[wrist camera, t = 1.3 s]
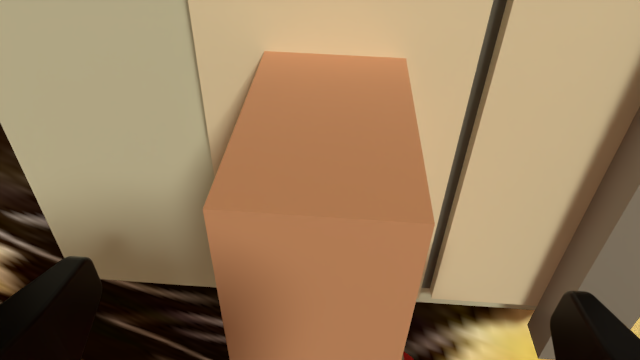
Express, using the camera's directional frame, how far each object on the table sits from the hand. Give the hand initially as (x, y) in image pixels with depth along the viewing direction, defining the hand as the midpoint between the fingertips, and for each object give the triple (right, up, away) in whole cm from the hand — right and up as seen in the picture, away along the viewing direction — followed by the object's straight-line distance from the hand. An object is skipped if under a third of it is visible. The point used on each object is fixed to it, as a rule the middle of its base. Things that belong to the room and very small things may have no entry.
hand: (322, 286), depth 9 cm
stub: (0, +3, +3) cm, 4 cm away
